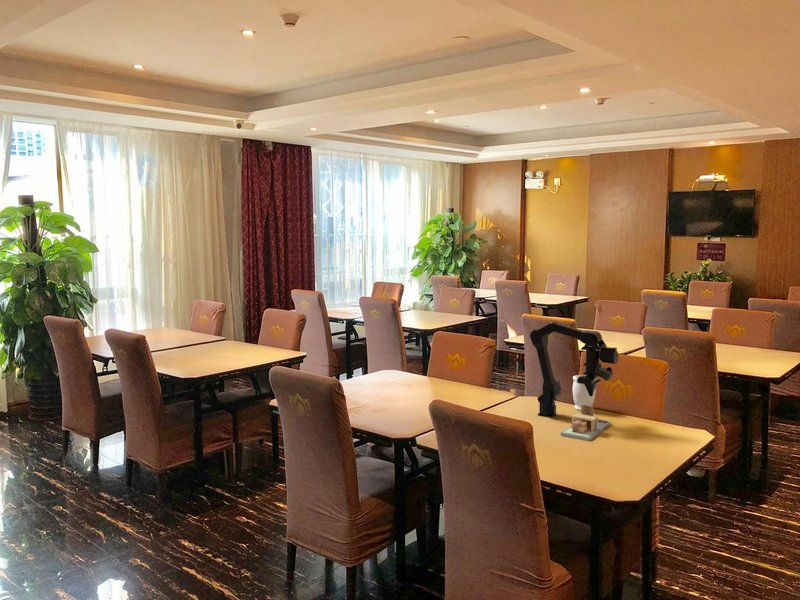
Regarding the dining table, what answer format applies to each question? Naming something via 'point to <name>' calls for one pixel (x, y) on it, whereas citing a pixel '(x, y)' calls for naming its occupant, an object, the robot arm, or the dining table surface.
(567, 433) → the bridge deck
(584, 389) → the jar
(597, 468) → the dining table surface
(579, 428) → the wooden block
